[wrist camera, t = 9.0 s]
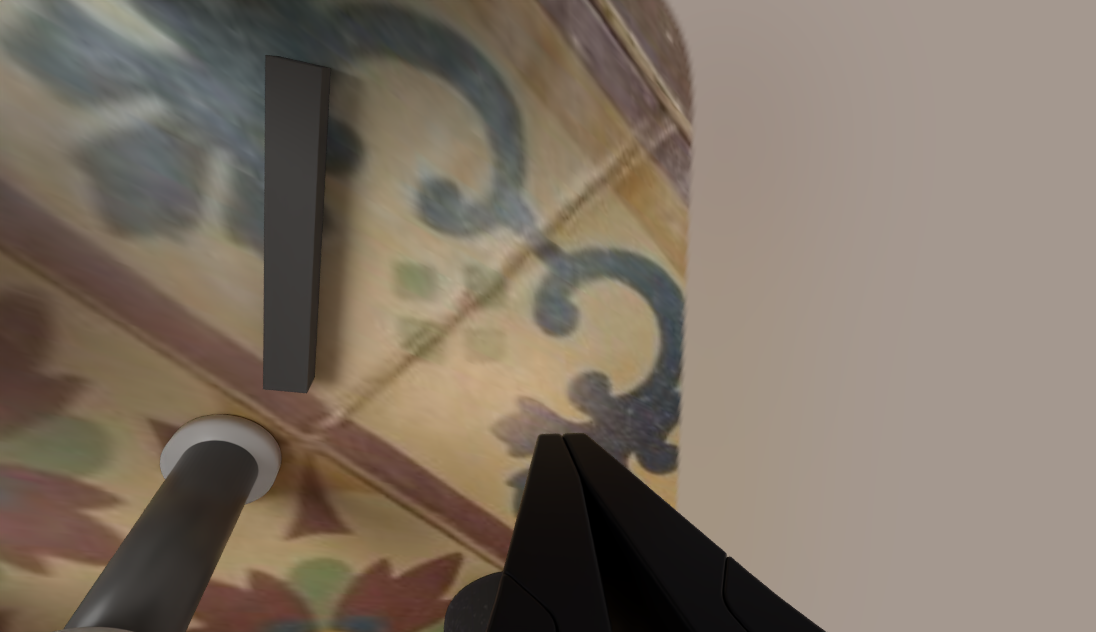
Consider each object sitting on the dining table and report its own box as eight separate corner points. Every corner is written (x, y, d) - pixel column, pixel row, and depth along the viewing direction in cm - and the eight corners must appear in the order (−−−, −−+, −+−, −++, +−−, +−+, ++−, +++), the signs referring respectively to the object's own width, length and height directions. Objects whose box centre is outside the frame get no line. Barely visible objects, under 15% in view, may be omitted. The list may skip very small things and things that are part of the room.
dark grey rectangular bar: (316, 372, 22) (307, 393, 21) (275, 368, 22) (263, 389, 20) (332, 68, 17) (321, 68, 16) (281, 56, 17) (265, 55, 16)
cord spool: (288, 489, 24) (193, 741, 15) (183, 497, 23) (17, 767, 14) (272, 411, 22) (153, 647, 13) (157, 417, 21) (-53, 671, 12)
